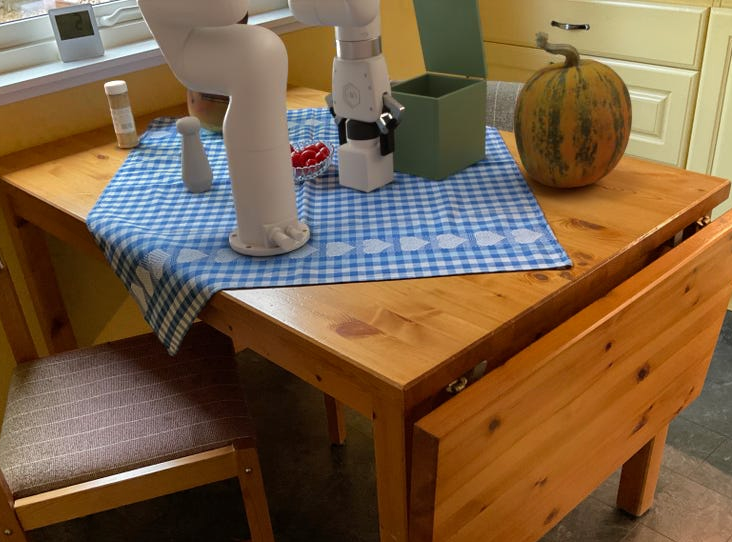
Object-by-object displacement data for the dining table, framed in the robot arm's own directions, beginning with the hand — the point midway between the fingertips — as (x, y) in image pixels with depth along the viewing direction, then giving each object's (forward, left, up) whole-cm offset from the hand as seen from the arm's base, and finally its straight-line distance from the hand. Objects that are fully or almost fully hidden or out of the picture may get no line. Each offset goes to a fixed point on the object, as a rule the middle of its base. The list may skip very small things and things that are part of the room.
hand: (366, 149), depth 141 cm
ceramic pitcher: (+51, +4, -6) cm, 52 cm away
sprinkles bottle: (+55, +28, -6) cm, 62 cm away
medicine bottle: (0, +1, -6) cm, 6 cm away
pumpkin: (-23, -26, -6) cm, 35 cm away
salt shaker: (+18, +26, -6) cm, 32 cm away
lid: (+2, -20, +16) cm, 25 cm away
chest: (+1, -15, -6) cm, 16 cm away
